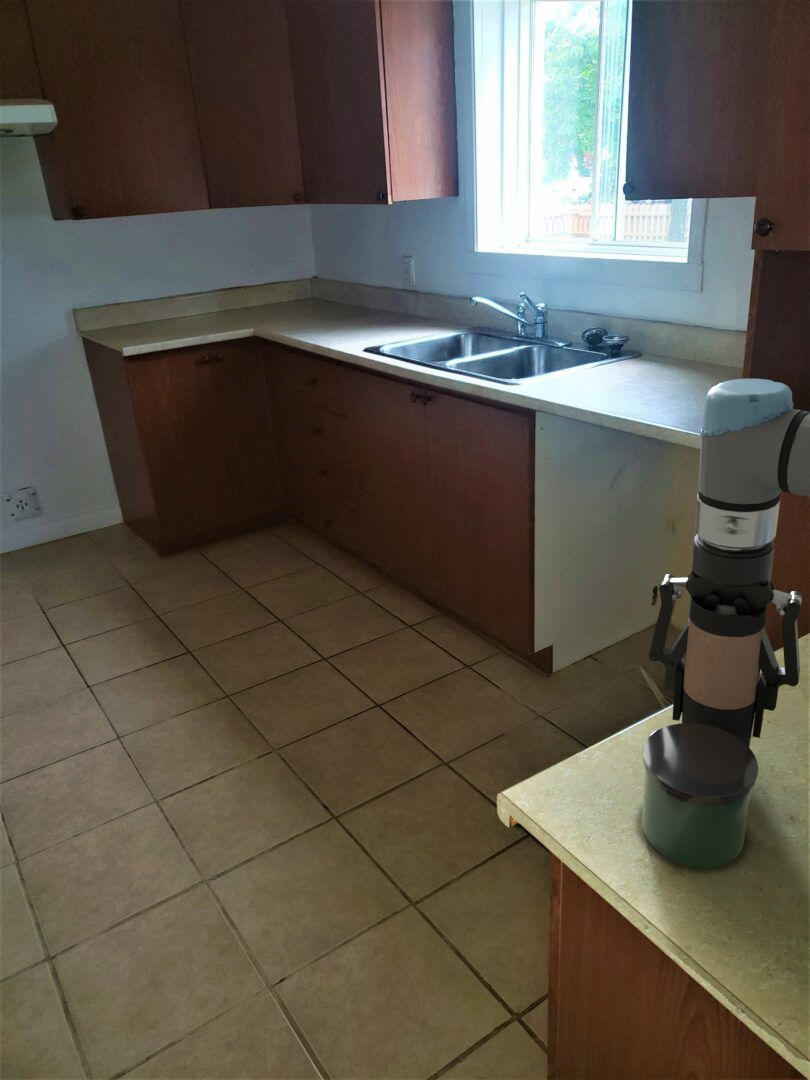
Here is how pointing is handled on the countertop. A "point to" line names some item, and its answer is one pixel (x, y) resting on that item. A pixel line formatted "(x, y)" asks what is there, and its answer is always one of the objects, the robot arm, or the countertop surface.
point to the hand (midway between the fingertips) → (716, 721)
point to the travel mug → (722, 669)
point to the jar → (697, 793)
